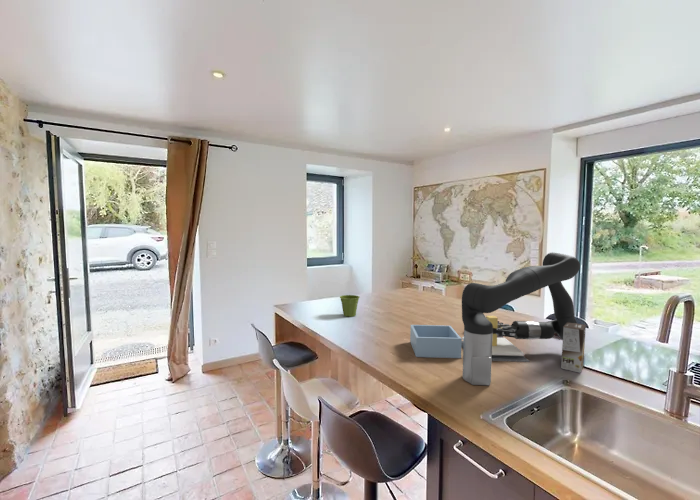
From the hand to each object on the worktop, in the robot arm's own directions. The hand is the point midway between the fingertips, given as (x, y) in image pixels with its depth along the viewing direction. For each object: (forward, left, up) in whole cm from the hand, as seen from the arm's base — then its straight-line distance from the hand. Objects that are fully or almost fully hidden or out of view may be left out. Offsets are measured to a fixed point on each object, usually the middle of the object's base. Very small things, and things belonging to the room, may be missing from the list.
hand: (484, 329), depth 144 cm
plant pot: (+53, +60, -10) cm, 81 cm away
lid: (0, -3, -7) cm, 8 cm away
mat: (0, -3, -9) cm, 10 cm away
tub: (0, +21, -9) cm, 23 cm away
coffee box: (-15, -28, -10) cm, 33 cm away
